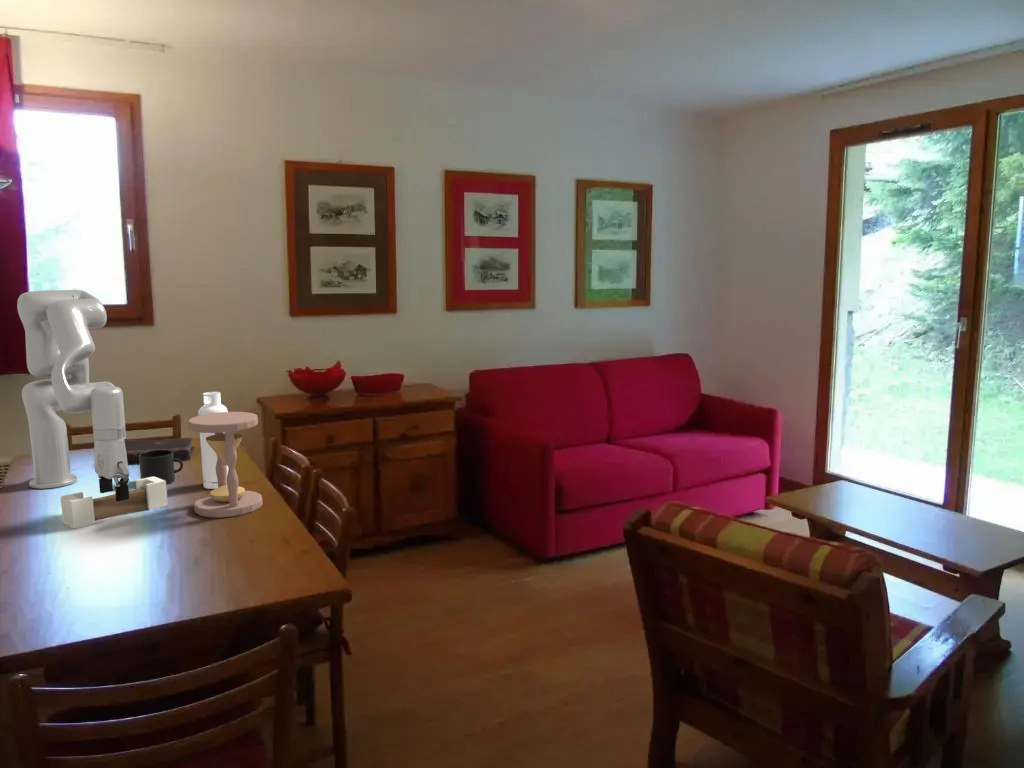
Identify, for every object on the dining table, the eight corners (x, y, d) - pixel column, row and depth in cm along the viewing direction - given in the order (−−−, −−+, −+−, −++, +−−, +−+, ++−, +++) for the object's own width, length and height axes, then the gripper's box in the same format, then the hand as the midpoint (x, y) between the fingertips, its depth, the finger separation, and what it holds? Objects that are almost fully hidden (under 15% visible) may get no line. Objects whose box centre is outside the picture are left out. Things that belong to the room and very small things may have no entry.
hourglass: (195, 501, 215) (189, 414, 211) (260, 494, 221) (256, 409, 217) (193, 521, 199) (186, 427, 195) (264, 513, 205) (258, 421, 201)
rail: (81, 520, 200) (79, 501, 199) (144, 504, 212) (143, 487, 211) (87, 523, 198) (85, 504, 197) (150, 507, 210) (149, 489, 209)
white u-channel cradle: (63, 522, 198) (60, 496, 197) (155, 500, 216) (153, 476, 215) (74, 528, 194) (71, 501, 192) (167, 505, 212) (165, 480, 211)
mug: (184, 483, 232) (182, 454, 231) (140, 488, 228) (137, 458, 226) (184, 475, 241) (182, 447, 239) (142, 479, 236) (139, 451, 235)
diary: (189, 462, 259) (188, 448, 258) (107, 469, 251) (106, 454, 251) (194, 448, 276) (193, 435, 275) (117, 454, 269) (116, 440, 268)
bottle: (197, 487, 229) (190, 394, 224) (217, 479, 236) (211, 390, 231) (218, 490, 226) (212, 396, 221) (237, 482, 233) (232, 391, 228)
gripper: (80, 430, 204) (86, 492, 207) (109, 442, 193) (114, 507, 196) (110, 425, 210) (114, 485, 213) (139, 436, 199) (143, 500, 202)
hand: (114, 496), depth 205 cm, fingers open, 9 cm apart
